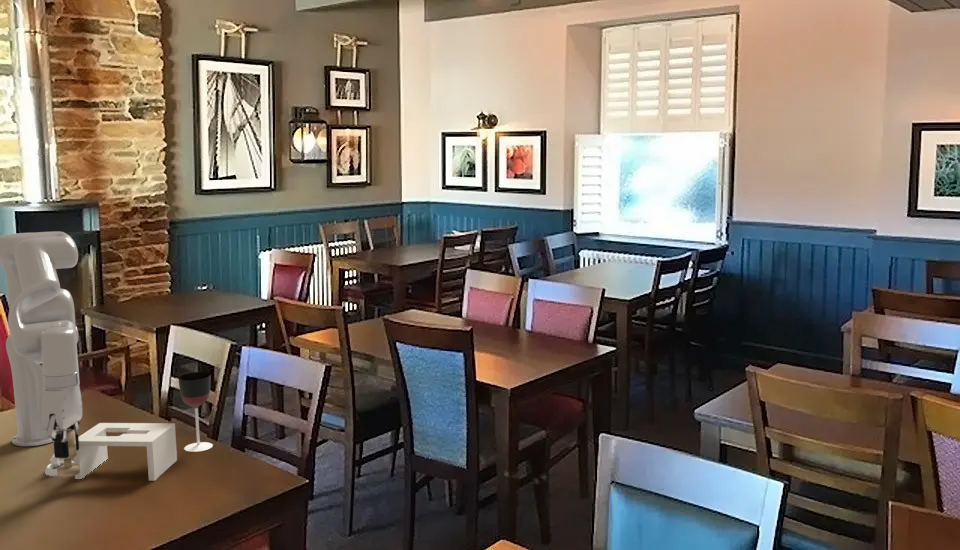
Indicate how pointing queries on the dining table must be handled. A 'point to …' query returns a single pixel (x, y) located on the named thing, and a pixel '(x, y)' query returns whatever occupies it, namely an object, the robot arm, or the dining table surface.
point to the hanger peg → (69, 467)
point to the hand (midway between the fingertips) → (67, 452)
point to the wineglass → (195, 400)
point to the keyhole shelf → (139, 434)
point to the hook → (55, 463)
